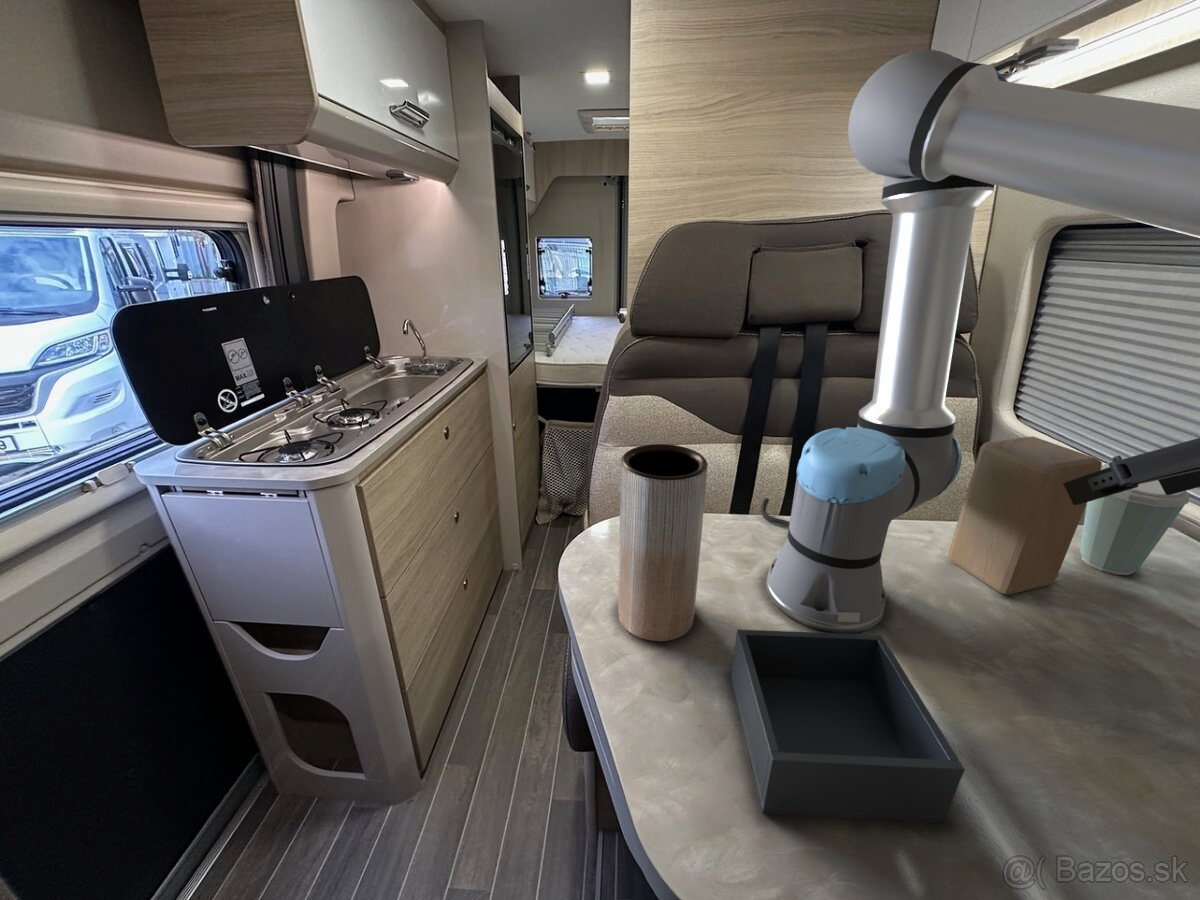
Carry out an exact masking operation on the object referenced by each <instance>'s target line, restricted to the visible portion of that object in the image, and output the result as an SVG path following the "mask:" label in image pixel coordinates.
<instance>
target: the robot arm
mask: <svg viewBox="0 0 1200 900" xmlns="http://www.w3.org/2000/svg"><path fill="white" fill-rule="evenodd" d="M847 136H848V141H849V146H850V149H851V151H852V153H853V156H854V158H856V160H857V161H858V162H859V165H861V166H862V167H863V168H865V169H866V170H867V171H869V172H871V173H874V174H876V175H878V176H883V183H882V193H881V204H882V205H883V206H884V207H885V208H886V209H887V210H888V211H889V213H891V216H892V223H891V232H890V241H889V248H888V250H889V251H888V259H887V268H886V277H885V286H884V293H883V302H882V311H881V321H880V329H879V339H878V345H877V347H878V348H877V356H876V366H875V375H874V383H873V391H872V398H871V401H869V402H868V403H866V405H864V406H863V407H862V408H860V409H859V411H858V420H857V426H856V427H855V426H854V427H853V426H847V427H846V428H840V427H833V428H828V429H825V430H822V431H819V432H817V433H815V434H814V435H812V436H810V438H808V439H807V441H806V442H805V444H804V445H803V448H802V451H801V456H800V458H799V460H798V463H797V468H796V481H795V486H794V487H795V488H794V494H793V499H792V506H791V513H790V519H789V521H788V520H785V519H781V518H777V517H773V516H771V515H769V514H768V513H767V506H768V504H769V502H770V499H769V498H768V497H765V498H764V499H763V501H762V502H761V505H760V514H761V516H762V518H763V519H764V520H766V521H767V522H770V523H773V524H777V525H782V526H786V527H788V531H787V536H786V540H785V541H784V543H783V544H782V546H781V548H780V550H779V552H778V554H777V557H775V559H774V560H773V561H772V562H771V564H770V566H769V568H768V572H767V574H766V575H767V576H766V581H765V582H766V583H765V585H766V586H765V588H766V592H767V595H768V597H769V598H770V600H771V601H772V603H773V604H774V605H775V606H776V607H777V608H778V609H779V610H780V611H781V612H782V613H784V614H786V615H787V616H788V617H789V618H791V619H793V620H795V621H797V622H799V623H801V624H803V625H806V626H808V627H811V628H814V629H816V630H820V631H825V632H828V633H844V634H856V633H862V632H864V631H867V630H870V629H872V628H874V627H876V625H878V624H880V622H881V620H882V619H883V615H884V611H885V608H886V591H885V587H884V586H883V585H884V584H883V583H884V581H883V572H882V565H881V558H882V555H883V550H884V547H885V543H886V538H887V535H888V531H889V527H890V524H891V523H892V521H893V520H895V519H897V518H898V517H900V516H902V515H904V514H905V513H908V512H909V511H911V510H913V509H915V508H917V507H918V506H921V505H923V504H925V503H926V502H929V501H931V500H933V499H935V498H936V497H938V496H940V495H941V494H942V493H943V492H944V491H945V490H947V488H949V486H950V485H951V484H952V483H953V482H954V481H955V479H956V478H957V476H958V475H959V472H960V469H961V466H962V460H963V459H962V458H963V456H962V455H963V453H962V449H961V448H962V447H961V444H960V442H959V439H957V438H956V437H955V435H954V431H955V426H956V425H955V424H956V416H955V415H954V414H953V412H952V411H950V409H948V407H947V406H946V404H945V401H946V397H947V396H946V395H947V388H948V383H949V376H950V370H951V363H952V357H953V350H954V344H955V340H956V339H955V337H956V332H957V327H958V326H957V325H958V319H959V314H960V306H961V299H962V293H963V288H964V280H965V274H966V268H967V263H968V256H969V250H970V243H971V237H972V231H973V224H974V218H975V212H976V210H977V208H978V207H979V206H980V204H982V203H983V202H984V201H986V199H987V198H989V196H990V195H991V194H993V193H994V191H995V186H998V187H1000V188H1004V189H1009V190H1012V191H1016V192H1021V193H1023V194H1027V195H1028V194H1029V195H1032V196H1037V197H1040V198H1044V199H1047V200H1051V201H1056V202H1059V203H1064V204H1067V205H1071V206H1075V207H1078V208H1083V209H1086V210H1090V211H1094V212H1097V213H1102V214H1106V215H1110V216H1114V217H1116V218H1117V217H1118V218H1122V219H1125V220H1129V221H1133V222H1136V223H1141V224H1144V225H1149V226H1153V227H1156V228H1160V229H1163V230H1168V231H1171V232H1175V233H1180V234H1184V235H1188V236H1192V237H1195V238H1199V239H1200V108H1193V107H1187V106H1179V105H1172V104H1166V103H1165V104H1164V103H1159V102H1152V101H1145V100H1137V99H1131V98H1123V97H1116V96H1108V95H1102V94H1094V93H1087V92H1080V91H1073V90H1067V89H1060V88H1053V87H1047V86H1046V87H1045V86H1038V85H1032V84H1026V83H1025V84H1024V83H1019V82H1018V83H1017V82H1010V81H1008V80H1007V78H1006V77H1005V76H1004V75H1002V74H1001V73H1000V72H999V71H997V70H996V68H995V67H994V66H993V65H991V64H986V63H978V62H973V61H972V62H971V61H965V60H963V59H961V58H958V57H956V56H954V55H952V54H950V53H947V52H944V51H942V50H937V49H917V50H912V51H909V52H906V53H903V54H900V55H898V56H896V57H894V58H893V59H891V60H888V61H887V62H886V63H884V64H883V65H882V66H880V67H879V68H878V69H877V70H875V71H874V73H873V74H872V75H871V76H870V77H868V79H867V80H866V82H865V83H864V84H863V86H862V87H861V89H860V90H859V91H858V93H857V96H856V98H855V99H854V102H853V104H852V107H851V110H850V113H849V117H848V125H847ZM1108 463H1109V466H1110V467H1109V468H1106V469H1103V470H1100V471H1097V472H1094V473H1091V474H1088V475H1085V476H1083V477H1080V478H1077V479H1074V480H1071V481H1068V482H1065V483H1063V484H1064V486H1065V488H1066V490H1067V492H1068V495H1069V497H1070V499H1071V501H1072V503H1073V505H1079V504H1083V503H1086V502H1090V501H1093V500H1096V499H1100V498H1103V497H1106V496H1110V495H1113V494H1116V493H1120V492H1123V491H1126V490H1130V489H1133V488H1136V487H1138V485H1139V484H1142V483H1147V482H1151V481H1156V480H1158V481H1159V483H1160V484H1161V486H1162V488H1163V490H1164V492H1165V494H1166V495H1172V494H1175V493H1179V492H1183V491H1189V490H1194V489H1197V488H1200V437H1197V438H1194V439H1190V440H1186V441H1183V442H1179V443H1176V444H1172V445H1169V446H1165V447H1162V448H1158V449H1155V450H1151V451H1147V452H1144V453H1140V454H1136V455H1133V456H1129V457H1126V458H1122V456H1121V454H1120V455H1115V456H1114V457H1112V461H1110V462H1108Z"/></svg>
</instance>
